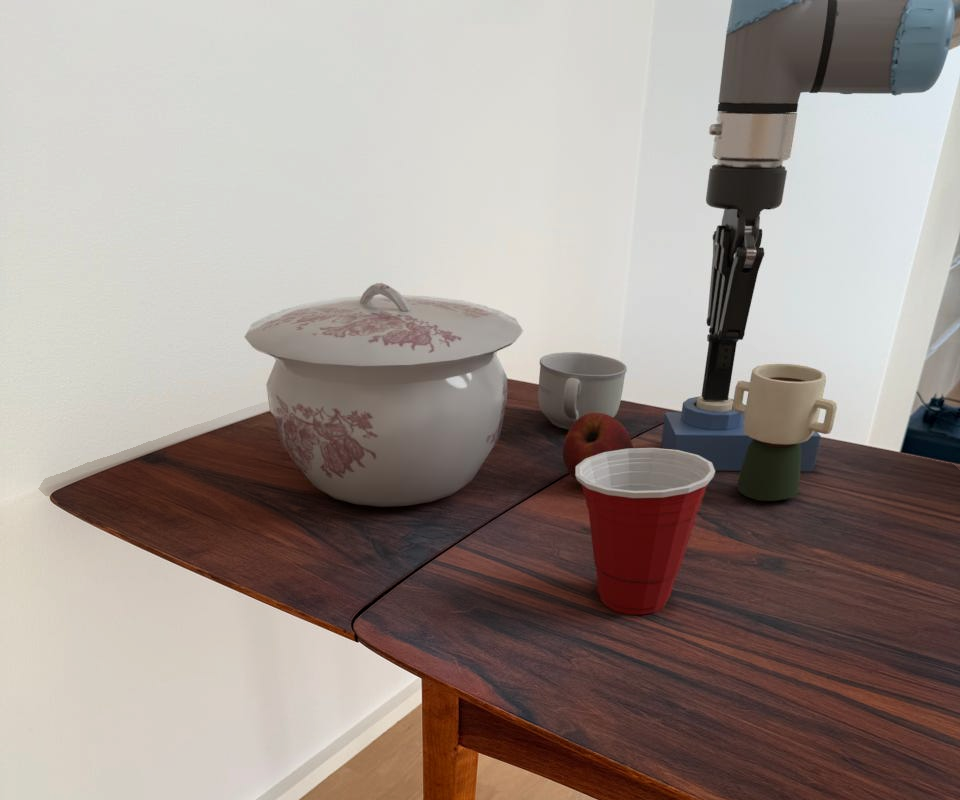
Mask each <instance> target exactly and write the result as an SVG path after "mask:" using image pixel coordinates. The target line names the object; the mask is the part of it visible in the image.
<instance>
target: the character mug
mask: <svg viewBox="0 0 960 800" xmlns="http://www.w3.org/2000/svg"><path fill="white" fill-rule="evenodd" d="M826 381H827V376H826V374H825V372H823V371H821V370H820V369H818V368H814V367H812V366H811V367H810V366H807V365H801V364H792V363H769V364H762V365H757V366H755V367H754V368H753V369H752V370H751V374H750V379H749V381H746V380H738V381H737V383H736V384H735V388H734V395H733V399H734V400H733V410H734V411H736V412H738V413H742V414H745V415H744V421H743V423H744V432H745V434H747V435H748V436H749V437H751V438H753V440H752V442H751V443H750V445H749V446H748V449H747V452H746V455H745V459H744V462H743V465H742V468H741V471H739V474H738V477H737V481H736V482H737V483H736V487H737V490H738V491H739V493H741V494H742V495H743V496H745V497H747V498H750V499H752V500H757V501H764V502H765V501H766V502H767V501H769V502H775V501H780V500H781V501H783V500H788V499H791V498H793V497H794V498H795V497H796V496H797V495H798V494H799V489H800V482H801V471H800V469H801V449H800V445H799V443H802V442H805V441H807V440H808V439H809V438H810V437H811V436H812V435H813V433H814V432H818V434H819V433H820V434H823V435H829V434H831V432H832V431H833V427H834V423H835V417H836V413H837V409H838V408H837V407H838V405H837V402H835V401H834V400H832V399H826V398H824V392H825V387H826ZM745 392H747V396H746V397H747V398H746V404H744V403H743V401H744V395H745ZM821 410H825V414H824V419H823V422H818V421H819V418H820V412H821Z"/></svg>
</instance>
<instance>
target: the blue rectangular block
mask: <svg viewBox="0 0 960 800" xmlns="http://www.w3.org/2000/svg"><path fill="white" fill-rule="evenodd" d="M701 396H702V395H699V396H694V397H689V398H687V399H686V400H684V401H683V402H682V405H681V406H682V407H681V411H665V412H664V418H663V427H662V434H661V435H662V436H661V444H660V447H661V449H672V450H680V451H684V452H688V453H692V454H696V455H699V456H701V457H703V458H704V459H706V460H708V461H710V462H712V464H713V467H714V469H715V472H717V471H718V472H721V471H723V472H740V471H741V468H742V465H743V462H744V459H745V455H746V452H747V449H748V446H749V445H750V443H751V442H752V440H753V438H751V437H749V436H748V435H747V434H745V432H744V423H743V421H744V415H745V414H742V413H738V412H736V411H734V410H733V405H732V410H729V411H708V410H702V409H700V408H697V407H696V404H697V399H698V397H701ZM731 399H732V400H734V398H731ZM820 442H821V434H819V432H814V433H813V435H812V436H811V437H810V438H809V439H808V440H807V441H805V442H802V443H799V445H800V449H801V469H800V472H807V473H808V472H814V471H815V465H816V461H817V456H818V451H819V446H820Z"/></svg>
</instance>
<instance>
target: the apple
mask: <svg viewBox="0 0 960 800" xmlns="http://www.w3.org/2000/svg"><path fill="white" fill-rule="evenodd" d="M632 443H633V442H632V440H631V437H630V434H629V431H627V429H626V427H625V426H624V425H623V424H622V423H621V422H620V421H619V420H617V419H616V418H615V417H614V418H613V417H611V416H609V415H606V414H602V413H589V414H586V415H584V416H582V417H580V418H579V419H578V420H577V421H576V422H575V423H574V424H573V425H572V427H571V428H570V430H569V429H568V431H567V434H566V436H565V439H564V442H563V447H562V458H563V464H564V467H565V468H566V470H567V472H568V474H569V475H570V477H571V478H572V479H573V480H574V481H575V482H577V483H578V484H580V482H579V481H577V478H576V466H577V465H578V464H579V463H581V462H582V461H583V460H584V459H586V458H589V457H592V456H595V455H597V454H600V453H603V452H609V451H615V450H622V449H631V448H634V447H633V444H632ZM580 485H581V484H580Z"/></svg>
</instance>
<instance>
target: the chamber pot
mask: <svg viewBox="0 0 960 800" xmlns="http://www.w3.org/2000/svg"><path fill="white" fill-rule="evenodd" d="M523 332H524V330H523V328H522V326H521V324H520V322H519V321H518V319H516V318H515V317H514V316H512V315H510V314H508V313H505V312H504V311H501V310H500V309H496V308H492V307H488V306H487V305H483V304H479V303H476V302H470V301H467V300H461V299H455V298H445V297H438V296H430V295H429V296H427V295H409V294H401V293H400V292H399V291H398V290H397V289H394V287H391V286H390V285H387V284H385V283H383V282H377V283H374V284H371V285H369V287H367V288H366V290H365V291H364V292H363V293H362V295H359V296H358V295H356V296H346V297H339V298H331V299H325V300H319V301H312V302H305V303H301V304H299V305H295V306H291V307H287V308H284V309H281V310H280V311H277V312H273V313H270V314H268V315H266V316H264V317H262V318H260V319H258V320H256V321H254V322H252V323H251V325H250V326H249V328H248V330H247V331H246V333H245V335H244V339H245V340H246V341H247V342H248V344H249V345H250V346H251V347H252V348H253V349H254V350H256V351H257V352H260V353H263V354H265V355H268V356H270V357H273V358H274V360H275V362H274V364H273V367H272V369H271V371H270V374H269V377H268V379H267V381H266V392H267V393H266V394H267V399H268V407H269V408H268V409H269V411H270V414H271V415H270V416H271V418H272V420H273V424H274V426H275V429H276V432H277V436H278V438H279V441H280V444H281V445H282V447H283V448H284V449H285V451H286V452H287V454H288V456H289V457H290V458H291V459H292V461H293V462H294V464H296V466H297V467H298V468H299V469H300V471H301V472H302V473H303V475H305V477H306V478H307V479H308V481H309V482H310V483H311V484H312V486H314V487H315V488H316V489H318V490H319V491H320V492H322V493H324V494H325V495H327V496H329V497H331V498H333V499H335V500H337V501H342V502H345V503H349V504H353V505H360V506H369V507H380V508H396V507H397V508H398V507H400V508H401V507H407V506H415V505H420V504H421V505H422V504H426V503H432V502H435V501H438V500H440V499H444V498H447V497H450V496H453V495H454V494H455V493H458V492H459V491H461V490H463V488H465V487H467V486H468V485H469V484H470V483H471V482H472V481H473V479H475V477H476V475H477V474H478V472H479V470H480V469H481V467H482V466H483V464H484V462H485V461H486V460H487V458H488V456H489V454H490V453H491V451H492V450H493V448H494V446H495V445H496V444H497V442H498V440H499V438H500V436H501V431H502V427H503V422H504V417H505V413H506V408H507V405H508V404H507V403H508V376H507V374H506V371H505V369H504V367H503V365H502V363H501V362H500V359H499V357H498V356H497V353H498V352H499V351H501V350H503V349H505V348H507V347H510V346H512V345H513V344H515V342H516V341H517V340H518V339H519V338H520V336H521V335H522V334H523Z"/></svg>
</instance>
